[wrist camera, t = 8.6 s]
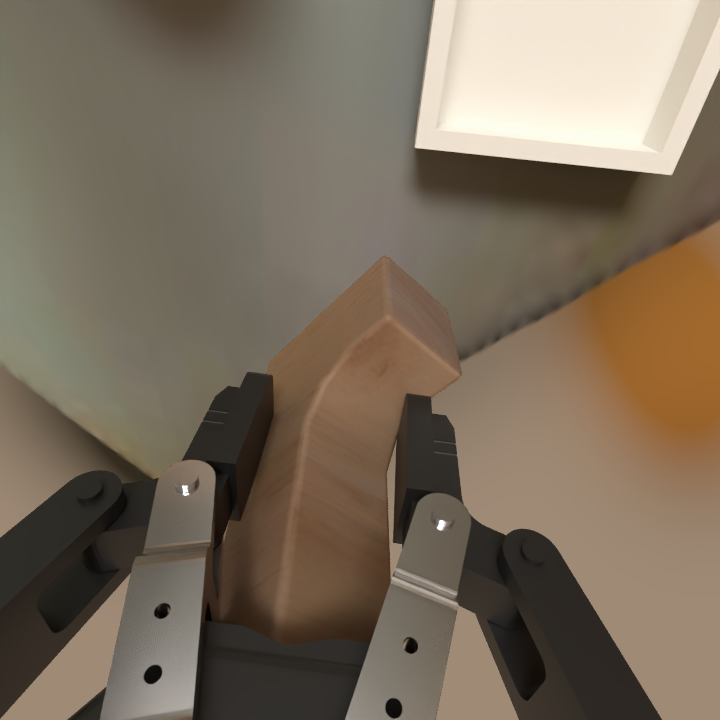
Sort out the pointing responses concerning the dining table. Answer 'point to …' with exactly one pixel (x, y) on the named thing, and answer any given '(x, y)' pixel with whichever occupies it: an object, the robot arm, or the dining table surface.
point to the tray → (568, 79)
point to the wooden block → (334, 463)
